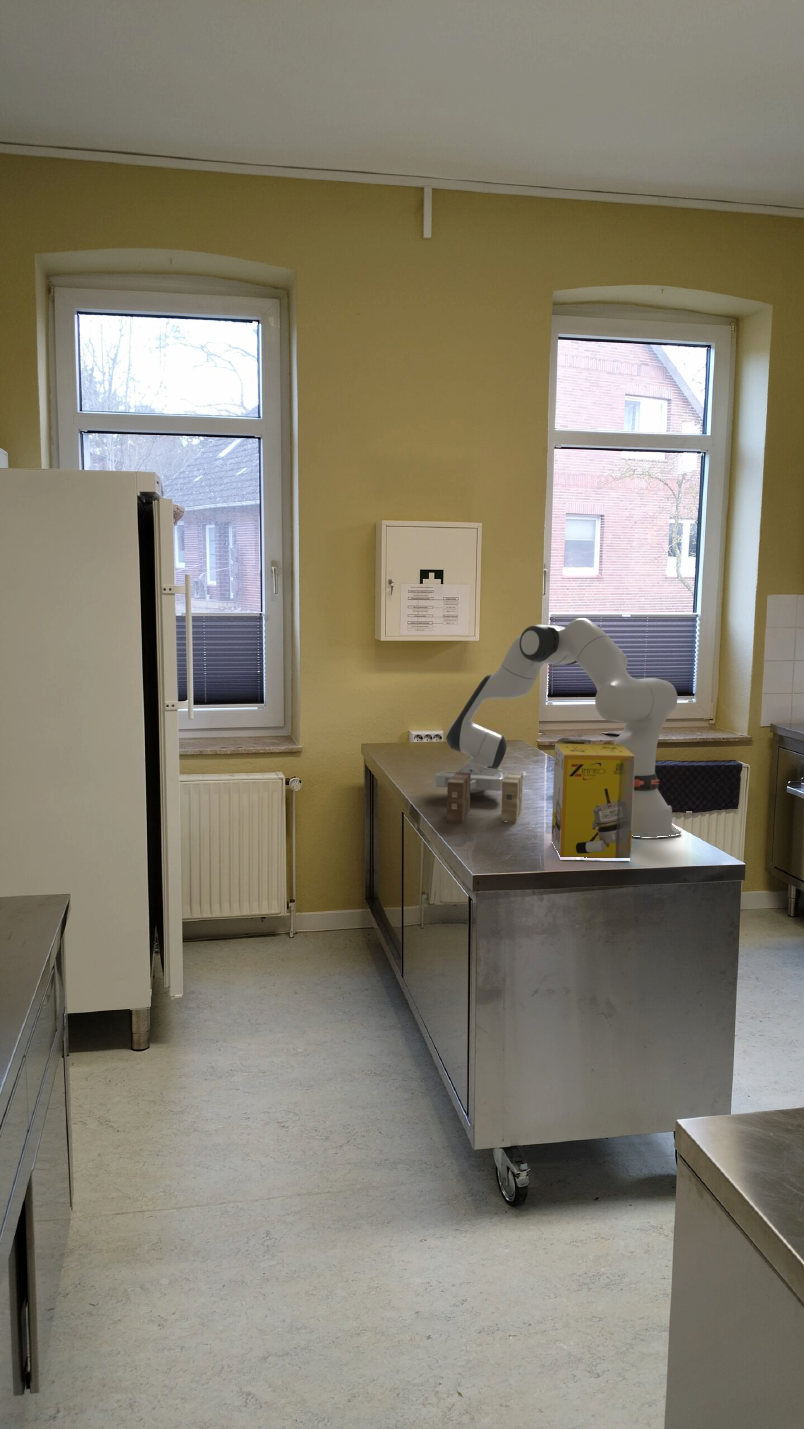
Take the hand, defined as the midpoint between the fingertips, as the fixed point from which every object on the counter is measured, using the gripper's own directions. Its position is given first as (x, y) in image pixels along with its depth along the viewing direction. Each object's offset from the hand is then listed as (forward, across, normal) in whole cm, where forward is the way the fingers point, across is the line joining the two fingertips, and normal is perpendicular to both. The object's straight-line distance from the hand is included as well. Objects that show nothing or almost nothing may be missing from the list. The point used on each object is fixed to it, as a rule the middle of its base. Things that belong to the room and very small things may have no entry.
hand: (465, 786), depth 287 cm
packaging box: (+40, +36, +6) cm, 54 cm away
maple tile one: (+9, +14, +6) cm, 18 cm away
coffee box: (-30, +29, +6) cm, 42 cm away
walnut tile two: (+13, 0, +6) cm, 14 cm away
